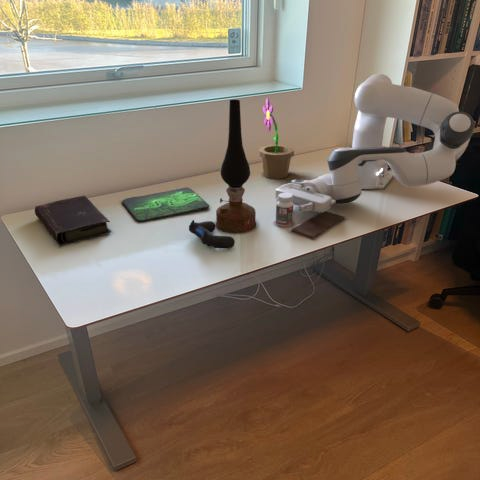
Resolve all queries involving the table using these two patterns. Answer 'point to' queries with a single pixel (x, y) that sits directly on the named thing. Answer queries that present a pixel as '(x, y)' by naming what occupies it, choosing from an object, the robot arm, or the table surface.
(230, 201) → the oil lamp
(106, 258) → the table surface
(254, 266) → the table surface
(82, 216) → the diary
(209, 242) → the gaming controller
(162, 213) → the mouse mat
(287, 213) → the pill bottle
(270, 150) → the flowerpot
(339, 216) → the walnut board
